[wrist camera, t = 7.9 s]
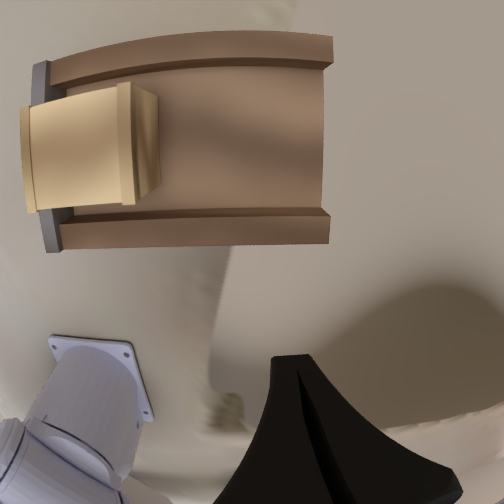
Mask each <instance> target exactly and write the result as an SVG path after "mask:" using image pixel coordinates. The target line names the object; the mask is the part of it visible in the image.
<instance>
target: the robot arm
mask: <svg viewBox="0 0 504 504" xmlns="http://www.w3.org/2000/svg"><path fill="white" fill-rule="evenodd" d="M48 343H49V345H50V348H51V350H52V352H53V355H54V357H55V360H56V362H57V365H56V367H55V369H54V370H53V372H52V373H51V375H50V377H49V378H48V380H47V381H46V383H45V385H44V386H43V388H42V390H41V391H40V393H39V395H38V396H37V398H36V400H35V402H34V403H33V405H32V407H31V409H30V410H29V412H28V414H27V416H26V417H25V419H24V421H23V422H21V421H20V420H19V419H17V418H13V419H4V420H3V421H2V422H1V423H0V504H130V502H129V499H128V497H127V495H126V494H125V493H124V492H123V491H121V490H120V485H121V481H122V480H124V479H125V478H126V477H127V476H128V474H129V473H130V471H131V469H132V466H133V462H134V458H135V453H136V449H137V445H138V441H139V437H140V433H141V429H142V425H143V422H153V421H154V415H153V413H152V410H151V407H150V404H149V401H148V398H147V395H146V392H145V389H144V386H143V382H142V379H141V376H140V373H139V369H138V366H137V362H136V359H135V355H134V352H133V348H132V346H131V345H130V344H129V343H127V342H115V341H102V340H90V339H80V338H70V337H61V336H53V335H52V336H50V337H49V338H48ZM54 345H55V346H54ZM125 352H126V353H128V354H126V353H125ZM462 493H463V490H462V487H461V485H460V483H459V481H458V479H457V477H456V475H455V474H454V472H453V470H452V469H450V468H448V467H445V466H443V465H440V464H438V463H435V462H433V461H430V460H428V459H426V458H424V457H422V456H420V455H418V454H416V453H414V452H412V451H410V450H408V449H407V448H405V447H404V446H402V445H400V444H399V443H397V442H396V441H394V440H392V439H391V438H389V437H388V436H386V435H385V434H384V433H382V432H381V431H380V430H378V429H377V428H376V427H375V426H373V425H372V424H371V423H370V422H369V421H367V420H366V419H365V418H364V417H363V416H362V415H361V414H359V412H357V411H356V410H355V409H354V408H353V407H352V406H351V405H350V404H349V403H348V401H346V399H345V398H344V397H343V396H342V395H341V394H340V393H339V392H338V390H337V389H336V388H335V387H334V386H333V385H332V384H331V383H330V381H329V380H328V379H327V377H326V376H325V375H324V373H323V372H322V371H321V370H320V368H319V367H318V366H317V364H316V363H315V361H314V360H313V358H312V357H311V356H310V355H309V354H303V355H289V356H288V355H287V356H274V357H273V358H271V369H270V388H269V393H268V397H267V402H266V404H265V408H264V411H263V414H262V417H261V420H260V423H259V425H258V428H257V430H256V433H255V435H254V437H253V440H252V442H251V444H250V446H249V448H248V450H247V452H246V454H245V456H244V458H243V460H242V461H241V463H240V465H239V467H238V468H237V470H236V471H235V473H234V475H233V476H232V478H231V479H230V481H229V482H228V484H227V485H226V487H225V488H224V490H223V491H222V492H221V494H220V495H219V496H218V498H217V499H216V500H215V501H214V503H213V504H454V503H455V502H456V501H457V500H458V499H459V498H460V497H461V496H462ZM496 504H504V499H502V500H500V501H499V502H498V503H496Z"/></svg>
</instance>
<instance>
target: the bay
mask: <svg viewBox="0 0 504 504" xmlns="http://www.w3.org/2000/svg"><path fill="white" fill-rule="evenodd" d="M333 62H334V60H333V38H332V36H325V35H317V34H307V33H295V32H280V31H212V32H196V33H185V34H175V35H167V36H159V37H152V38H146V39H140V40H134V41H128V42H123V43H118V44H114V45H109V46H105V47H100V48H96V49H92V50H88V51H85V52H81V53H77V54H74V55H70V56H67V57H64V58H61V59H57V60H54V61H47V60H46V61H43V62H40V63H37V64H35V65H33V71H32V89H31V106H37V105H40V104H44V103H47V102H51V101H54V100H58V99H62V98H66V97H70V96H74V95H78V94H82V93H87V92H91V91H96V90H101V89H106V88H111V87H117V84H119V83H124V82H133V83H135V84H136V86H137V87H139V88H141V89H143V90H146V91H148V92H150V93H152V94H154V95H156V96H158V132H159V160H160V179H161V185H160V186H158V187H157V188H155V189H154V190H152V191H151V192H149V193H148V194H146V195H145V196H143V197H142V198H141V201H139V202H138V203H137V204H134V205H122V202H121V203H107V204H95V205H83V206H72V207H61V208H51V209H43V210H41V211H39V217H40V223H41V228H42V234H43V239H44V244H45V249H46V253H59V252H61V251H62V250H63V249H98V248H137V247H180V246H228V245H283V244H328V243H329V231H330V218H331V216H330V215H329V214H328V213H326V212H325V211H324V210H323V209H322V208H321V196H322V171H323V129H324V125H323V124H324V92H323V91H324V90H323V70H324V69H325V68H327V67H328V66H329V65H331V64H332V63H333Z"/></svg>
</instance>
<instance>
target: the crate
mask: <svg viewBox="0 0 504 504" xmlns="http://www.w3.org/2000/svg"><path fill="white" fill-rule="evenodd" d="M20 141H21V158H22V170H23V180H24V189H25V197H26V204H27V211H28V213H37V212H39V211H41V210H43V209H51V208H61V207H72V206H83V205H95V204H107V203H121V202H122V205H134V204H137V203H138V202H139V201H141V198H142V197H143V196H145V195H146V194H148V193H149V192H151V191H152V190H154V189H155V188H157V187H158V186H160V185H161V179H160V160H159V132H158V96H156V95H154V94H152V93H150V92H148V91H146V90H143V89H141V88H139V87H137V86H136V84H135V83H133V82H124V83H119V84H117V87H111V88H106V89H101V90H96V91H91V92H87V93H82V94H78V95H74V96H70V97H66V98H62V99H58V100H54V101H51V102H47V103H44V104H40V105H37V106H26V107H23V108H20Z"/></svg>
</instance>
